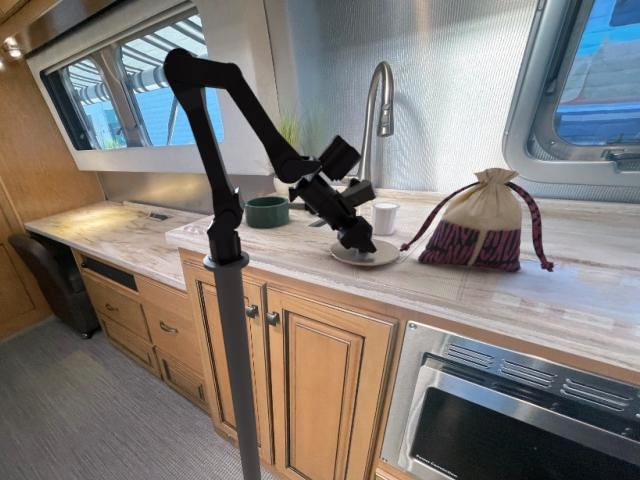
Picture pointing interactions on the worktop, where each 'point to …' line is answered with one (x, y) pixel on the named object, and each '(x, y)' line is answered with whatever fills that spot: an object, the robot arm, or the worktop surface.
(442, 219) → the pouch
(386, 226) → the white cup
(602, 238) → the worktop surface
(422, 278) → the worktop surface
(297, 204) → the door handle
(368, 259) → the tin lid
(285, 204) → the lunch tin
